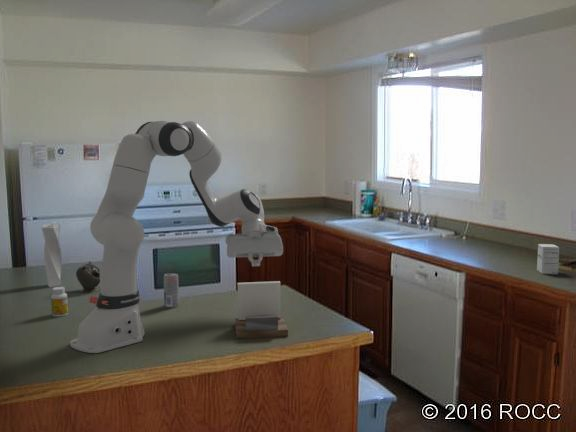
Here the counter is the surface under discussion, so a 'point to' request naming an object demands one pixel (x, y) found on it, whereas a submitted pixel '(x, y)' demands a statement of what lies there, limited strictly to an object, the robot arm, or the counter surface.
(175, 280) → the energy drink
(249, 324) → the bar
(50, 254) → the skyscraper
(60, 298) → the supplement bottle
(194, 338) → the counter surface
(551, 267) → the supplement box
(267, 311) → the white flat panel
